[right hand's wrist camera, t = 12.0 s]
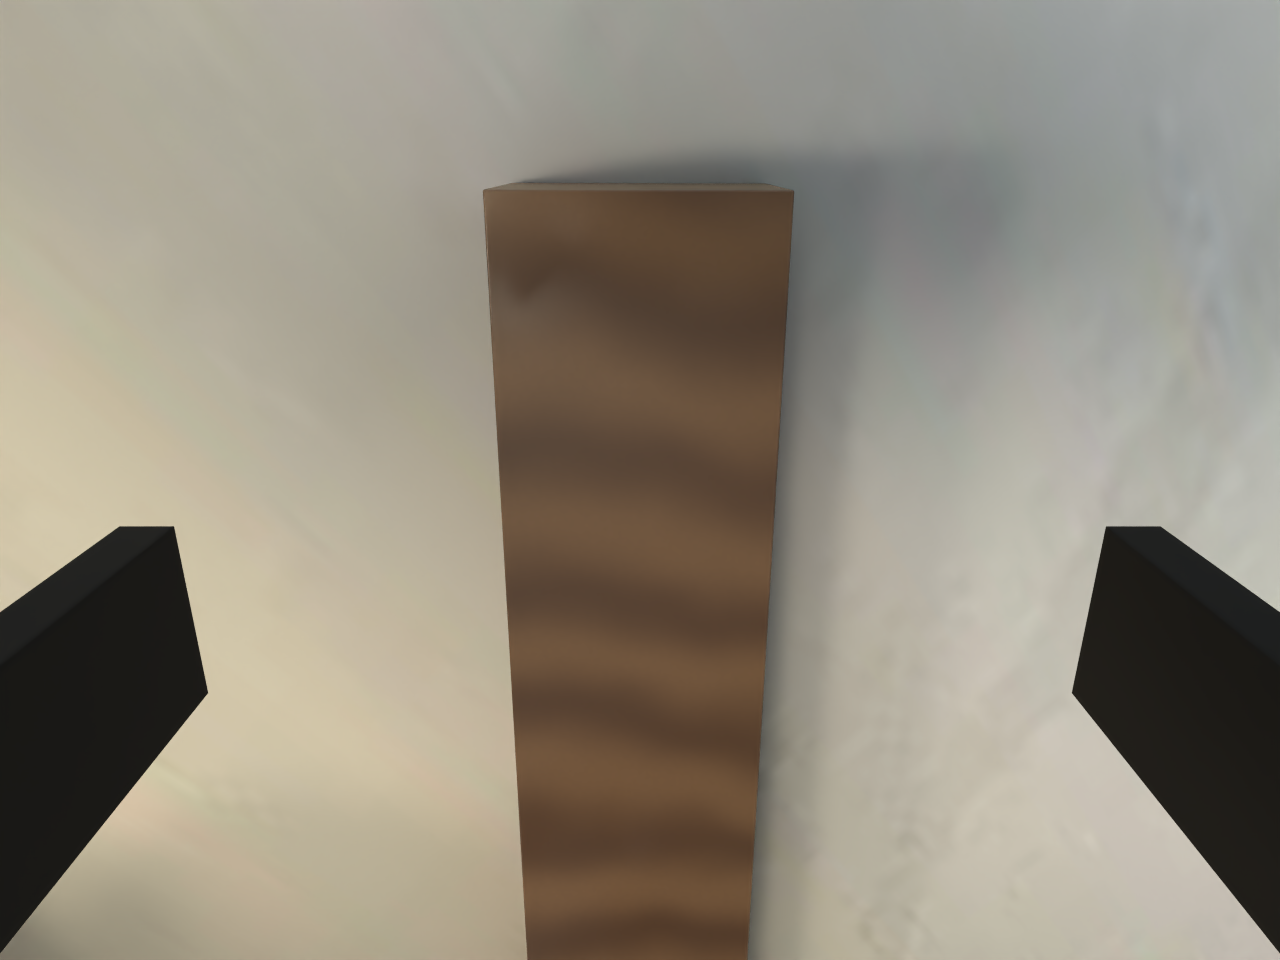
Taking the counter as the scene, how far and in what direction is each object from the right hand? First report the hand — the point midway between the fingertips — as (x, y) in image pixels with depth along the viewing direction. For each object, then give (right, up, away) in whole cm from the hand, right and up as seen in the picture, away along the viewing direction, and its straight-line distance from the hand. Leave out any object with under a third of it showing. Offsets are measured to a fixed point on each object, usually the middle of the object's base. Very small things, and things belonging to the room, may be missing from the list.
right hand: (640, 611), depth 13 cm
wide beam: (0, -22, +35) cm, 41 cm away
